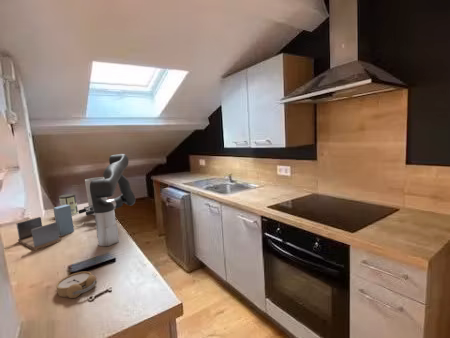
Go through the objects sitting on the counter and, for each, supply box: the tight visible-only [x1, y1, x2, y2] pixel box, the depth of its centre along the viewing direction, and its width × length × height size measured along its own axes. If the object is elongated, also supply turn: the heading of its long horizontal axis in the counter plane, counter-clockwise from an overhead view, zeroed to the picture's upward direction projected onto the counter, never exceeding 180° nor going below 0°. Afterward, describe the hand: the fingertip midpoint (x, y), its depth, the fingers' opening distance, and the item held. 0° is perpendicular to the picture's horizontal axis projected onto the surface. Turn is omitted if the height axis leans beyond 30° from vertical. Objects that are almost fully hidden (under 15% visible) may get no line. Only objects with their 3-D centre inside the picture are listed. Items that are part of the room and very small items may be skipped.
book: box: [52, 204, 75, 237], centre depth 145 cm, size 4×7×16 cm, turn 147°
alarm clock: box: [55, 271, 98, 299], centre depth 91 cm, size 11×5×15 cm
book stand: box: [17, 236, 62, 251], centre depth 136 cm, size 21×12×2 cm, turn 57°
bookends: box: [15, 216, 60, 247], centre depth 136 cm, size 21×11×9 cm, turn 57°
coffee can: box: [58, 193, 79, 216], centre depth 182 cm, size 10×10×14 cm
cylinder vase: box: [84, 176, 108, 216], centre depth 181 cm, size 12×12×25 cm
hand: (82, 213), depth 154 cm, fingers open, 8 cm apart
